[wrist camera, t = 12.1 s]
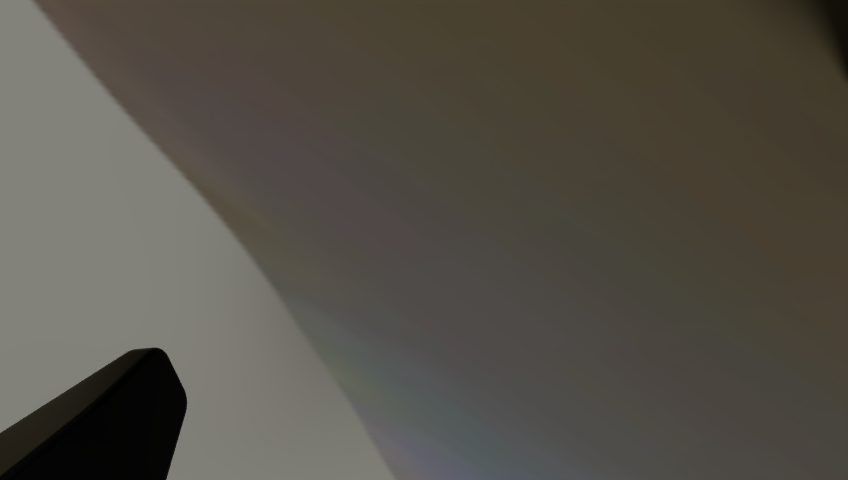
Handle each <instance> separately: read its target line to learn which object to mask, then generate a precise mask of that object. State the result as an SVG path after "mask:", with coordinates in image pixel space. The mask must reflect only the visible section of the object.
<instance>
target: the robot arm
mask: <svg viewBox="0 0 848 480" xmlns="http://www.w3.org/2000/svg"><path fill="white" fill-rule="evenodd" d="M186 409H187V397H186V393H185V390H184V388H183V386H182V384H181V382H180V380H179V378H178V376H177V374H176V372H175V370H174V368H173V366H172V364H171V362H170V359H169V357H168V356H167V354H166V353H165V352H164V351H163V350H162V349H159V348H145V349H134V350H131V351H129V352H127V353H126V354H124V355H122V356H121V357H119V358H117V359H116V360H114V361H113V362H111V363H110V364H108V365H106V366H105V367H103V368H102V369H100V370H99V371H97V372H95V373H94V374H92V375H91V376H89V377H88V378H86V379H84V380H83V381H81V382H80V383H78V384H77V385H75V386H74V387H72V388H70V389H69V390H67V391H66V392H64V393H62V394H61V395H60V396H58V397H56V398H55V399H53V400H52V401H50V402H49V403H47V404H45V405H44V406H42V407H40V408H39V409H37V410H36V411H34V412H33V413H31V414H30V415H28V416H27V417H25V418H23V419H22V420H20V421H19V422H17V423H16V424H14V425H12V426H11V427H9V428H8V429H6V430H4V431H3V432H1V433H0V480H166V478H167V475H168V471H169V468H170V465H171V461H172V458H173V454H174V451H175V448H176V444H177V440H178V437H179V434H180V430H181V427H182V423H183V420H184V417H185V413H186Z"/></svg>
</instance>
